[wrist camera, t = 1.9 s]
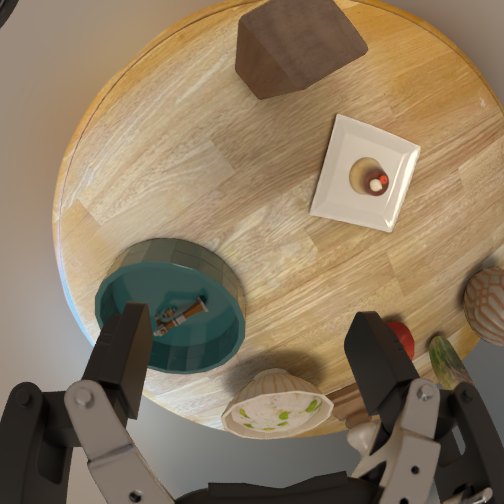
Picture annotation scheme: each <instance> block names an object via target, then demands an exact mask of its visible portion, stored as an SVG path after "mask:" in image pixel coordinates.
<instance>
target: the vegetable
mask: <svg viewBox="0 0 504 504" xmlns="http://www.w3.org/2000/svg"><path fill="white" fill-rule="evenodd" d="M429 355H430V360H431V364H432V367H433V369H434V372H435V374H436V377H437V379H438V380H439V382H440V384H441V386H442V387H443V389H444V390H453V389H454V388H455V387H456V386H457V385H458V384H459V383H461V382H468V383H470V384H472V385H473V386H474V387H475V385H474V384H473V381H472V379H471V378H470V376H469V374H468V372H467V370H466V368H465V367H464V365H463V363H462V361H461V360H460V358H459V357H458V355H457V353H456V351H455V350H454V348H453V347H452V345H451V344H450V342H449V341H448V340H447V339H446V338H445V337H443V336H436V337H434V338H433V339H432V341H431V343H430V345H429Z"/></svg>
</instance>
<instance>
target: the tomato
mask: <svg viewBox="0 0 504 504" xmlns="http://www.w3.org/2000/svg"><path fill="white" fill-rule="evenodd" d="M386 324H387V325H388V326H389V327H391V328H392V329H393V330H394V331H395V333H396V335H397V336H398V338H399V340H400V343H402V345H403V347H404V350H406V352H407V354H408V356H409V358H410V359H411V360H412V359H413V356H414V339H413V337H412V335H411V332H410V330H409V329H408V327H407V326H406V325H404V324H403V323H402V322H399V321H395V322H389V323H386Z"/></svg>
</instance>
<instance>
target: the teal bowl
mask: <svg viewBox="0 0 504 504" xmlns="http://www.w3.org/2000/svg"><path fill="white" fill-rule="evenodd" d="M198 296H199V297H200V299H201V300H202V302H203V304H204V305H205V307H206V308H207V310H208V311H207V312H205V310H203V311H201V312H198V313H196V314H194V315H192V316H190V317H188V318H187V319H186V321H184V322H182V323H181V324H180V325H179V324H177V325H178V326H174V327H172V328H171V329H169V330H167V331H168V332H166V334H164V335H161V336H159V335H158V336H155V335H154V331H156V329H155V328H157V327H158V325H157V323H156V321H155V319H154V316H155V315H158V317H159V318H160V317H162V315H163V316H164V310H165V312H166V311H167V310H169V309H170V307H171V309H173V308H176V310H177V311H176V312H175V315H173V316H171V317H170V318H169V319H168V318H165V319H162V320H161V318H160V320H161V321H163V322H168V321H170V320H171V318H172V317H173V318H174V317H175V316H176V315H178V314H179V313H180V312H184V311H185V310H187V309H188V308H189V307H190V306H192V305H193V304H194V303H195V302H196V301H197V300H198V299H197V298H196V297H198ZM128 301H130V302H140V303H147V304H148V307H149V313H150V320H151V326H152V332H153V344H152V350H151V354H150V358H149V363H148V367H147V368H149V369H153V370H156V371H160V372H164V373H171V374H194V373H201V372H207V371H209V370H211V369H214V368H216V367H219V366H221V365H223V364H225V363H226V362H227V361H228V360H229V359H231V358H232V357H233V356H234V355H235V354H236V353H237V352H238V350H239V348H240V346H241V344H242V343H243V341H244V339H245V323H246V321H245V307H244V295H243V293H242V289H241V286H240V283H239V281H238V279H237V277H236V275H235V274H234V272H233V271H232V270H231V268H230V267H229V266H228V265H227V264H226V263H225V262H224V261H223V260H222V259H221V258H220V257H218V256H217V255H215V254H214V253H213V252H211V251H209V250H207V249H206V248H204V247H202V246H199V245H197V244H194V243H191V242H188V241H184V240H178V239H168V238H161V239H152V240H147V241H143V242H141V243H138V244H136V245H134V246H132V247H130V248H128V249H127V250H126V251H124V252H123V253H122V254H121V255H120V256H119V257H118V258H117V259H116V260H115V262H114V263H113V265H112V266H111V268H110V270H109V271H108V273H107V275H106V276H105V278H104V280H103V281H102V283H101V286H100V288H99V290H98V292H97V294H96V296H95V316H96V319H97V321H98V324H99V327H100V329H101V330H102V327H103V325H104V323H105V322H106V321H107V320H108V319H109V318H110V317H111V316H112V315H113V314H122V312H123V310H124V307H125V305H126V303H127V302H128Z"/></svg>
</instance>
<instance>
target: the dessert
mask: <svg viewBox="0 0 504 504" xmlns="http://www.w3.org/2000/svg"><path fill="white" fill-rule="evenodd" d="M420 150H421V147H420V146H418V145H416V144H413V143H411V142H409V141H407V140H405V139H402V138H400V137H398V136H396V135H393V134H391V133H389V132H386V131H384V130H381V129H379V128H376V127H374V126H371V125H369V124H366V123H363V122H361V121H358V120H355V119H352V118H350V117H347V116H344V115H341V114H337V116H336V120H335V124H334V128H333V132H332V136H331V139H330V143H329V147H328V150H327V154H326V158H325V161H324V165H323V168H322V172H321V175H320V179H319V182H318V186H317V189H316V192H315V196H314V199H313V203H312V206H311V209H310V213H309V214H310V215H314V216H319V217H324V218H329V219H333V220H338V221H342V222H347V223H352V224H356V225H360V226H365V227H369V228H373V229H378V230H382V231H386V232H390V233H391V232H392V230H393V227H394V225H395V222H396V220H397V217H398V215H399V212H400V209H401V207H402V204H403V201H404V199H405V196H406V193H407V190H408V187H409V184H410V181H411V178H412V175H413V172H414V169H415V166H416V163H417V160H418V156H419V153H420Z"/></svg>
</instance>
